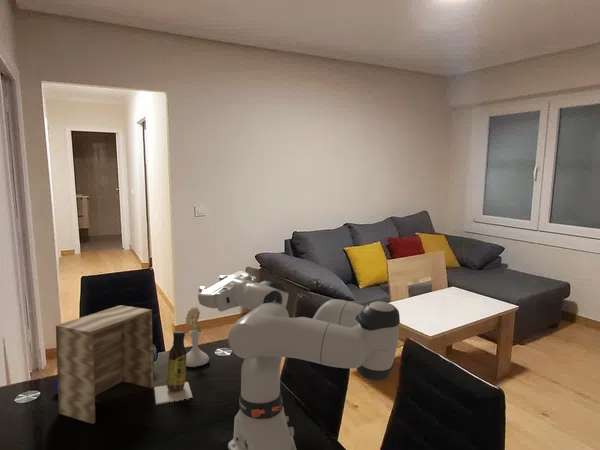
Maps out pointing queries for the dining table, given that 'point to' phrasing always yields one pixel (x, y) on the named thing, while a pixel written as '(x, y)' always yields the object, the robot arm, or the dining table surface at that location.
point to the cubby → (102, 357)
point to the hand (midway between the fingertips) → (210, 283)
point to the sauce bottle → (177, 363)
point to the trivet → (171, 394)
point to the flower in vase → (195, 341)
